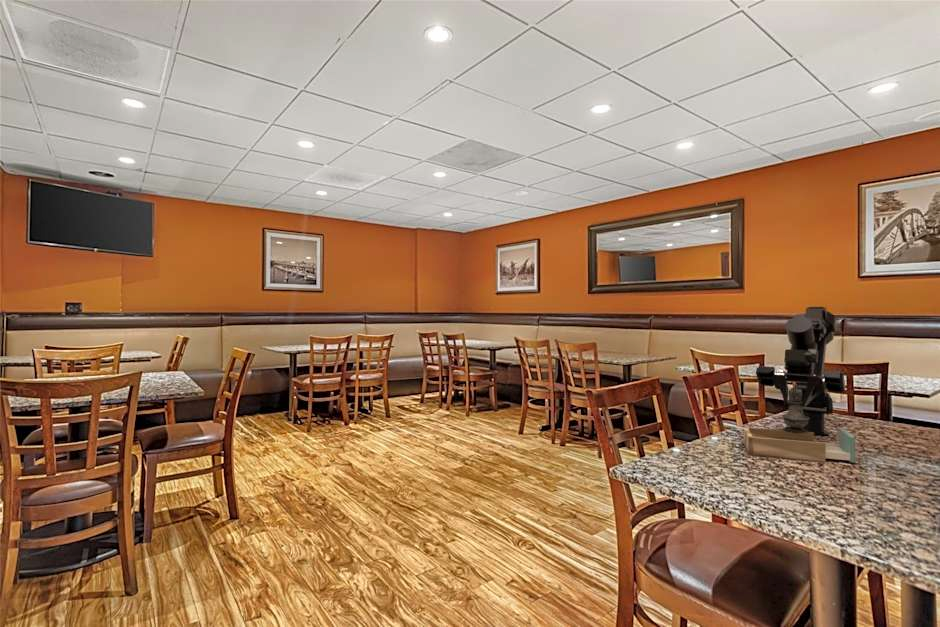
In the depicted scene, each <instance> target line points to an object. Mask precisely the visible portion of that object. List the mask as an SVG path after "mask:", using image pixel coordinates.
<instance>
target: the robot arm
mask: <svg viewBox="0 0 940 627" xmlns="http://www.w3.org/2000/svg"><path fill="white" fill-rule="evenodd" d="M837 326H838V322H837V319H836V315H834V314H833V313H831V312H830V311H828V308H827V307H825V306H809V307H806V308H805V313H804V314H803V313H796V314H795V317H791V318H790V319H789V320H787V321H786V323H785V329H786V334H787V337H788V342H789V344H791V345H790V349H788V348H787V349H785V350H784V359H783V360H784V370H781V369H780V370H779V369H777V370H776V369H775V366H767V365H759V366H757V367H756V370H755V374H756V378H757V379H756V380H757V382H758V385H760V386H761V387H762V386H765V387H774V388H775V389H776V390H779V391H780V394H781V396H782V400H783V404H784V405H785V406H788V404H789V403H788V402H787V401H788V400H789V386H788V382H790V383H797V384H796V385H797V386H796V387H798V388H799V389H801V390H802V402H803V413H804V415H805V416H807V417H809V418H810V419H809V420H808V423H807V425H806V426H805V427H801V428H804V429H806V430H807V431H808V432H814V435H819V436H829V435H830V434H829V433H828V432H827V431H826V429H825V427H826V426H825V424H826V423H825V421H826V420H825V419H826V418H825V415H828V416H829V415H833V414H834V405H833V398H832V397H831V395H830V393H828V392H831V393H841V394H842V393H845V389H846V380H845V375H844V373H843V371H841V370H827V369H826V370H825V359H826V353H827V352H826V351H827V345H828V344H830V342H832V341H834V336H835V333H837V331H838V330H837V328H838V327H837ZM785 370H786V371H785Z"/></svg>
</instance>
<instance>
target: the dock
mask: <svg viewBox="0 0 940 627" xmlns="http://www.w3.org/2000/svg"><path fill="white" fill-rule="evenodd" d="M742 430H743V431H742V433H743V438H742V439H743V440H742V441H743V442H742V443H743V445H744V447H745V450H746V451H747V454H748V456H755V457H756V456H757V457H767V458H778V459H787V460H788V459H789V460H795V461H796V460H797V461H808V462H818V463H826V462H827V461H826V459H827V458H826V444H825V443H826V442H823V443H820V441H815V434H814V432H808V433H805V434H798V433H791V432H787V431H784V430H783V429H776V428H775V429H774V428H764V427H763V428H761V427H751V426H750V427H749V426H743V428H742ZM772 438H775V439H772ZM784 439H787V440H784ZM796 440H799V441H796ZM808 441H811V442H808Z"/></svg>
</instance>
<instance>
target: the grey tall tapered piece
mask: <svg viewBox="0 0 940 627" xmlns="http://www.w3.org/2000/svg"><path fill="white" fill-rule="evenodd" d="M787 402H788V403H787V404H788V410H787V412H786V413H784V414H782V415H781V417H782V420H783V422H784V423H785V424H786V425H787V426H786V427H783V429H782V430H784V431H787V432H791V433H798V434H805V433H808V431H807V430H806V429H804V428H801V427H805V426H806V425H807V423H808V420H809V419H810V418H809V417H807V416H805V415H804V413H803V402H802V390H801V389H799V388H798V387H797V384H796V383H795V384H794V385H793V387H791V388H788V401H787Z"/></svg>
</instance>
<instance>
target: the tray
mask: <svg viewBox="0 0 940 627" xmlns="http://www.w3.org/2000/svg"><path fill="white" fill-rule="evenodd" d="M772 439H775V438H772ZM784 440H787V439H784ZM796 441H799V440H796ZM808 442H811V441H808ZM819 442H820V441H819ZM820 443H825V444H826V459H829V460H830V459H831V460H841V461H848V462H849V463H856V436H854V435H852V434H851V433H850V432H849V431H847V430H846V429H845V428H842V427H841V428H840V427H838V443H834V442H833V443H832V442H822V441H821V442H820Z"/></svg>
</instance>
